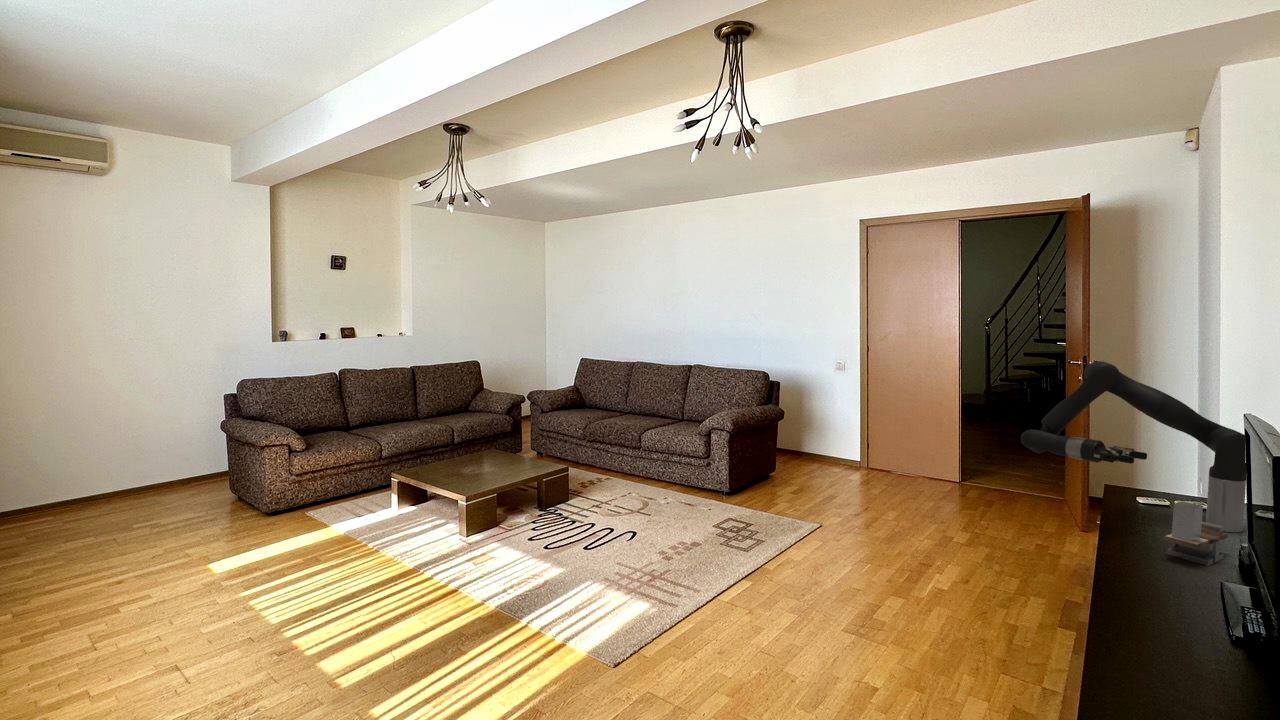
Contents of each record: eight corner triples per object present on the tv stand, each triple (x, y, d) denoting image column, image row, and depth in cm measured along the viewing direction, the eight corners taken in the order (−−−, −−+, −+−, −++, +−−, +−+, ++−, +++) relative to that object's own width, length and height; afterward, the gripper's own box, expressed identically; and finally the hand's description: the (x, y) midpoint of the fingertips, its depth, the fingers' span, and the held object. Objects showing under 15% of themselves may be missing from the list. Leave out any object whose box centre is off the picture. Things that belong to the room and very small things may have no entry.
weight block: (1179, 533, 192) (1182, 501, 191) (1200, 539, 188) (1202, 505, 187) (1171, 536, 190) (1174, 503, 189) (1192, 542, 185) (1195, 508, 184)
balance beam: (1194, 529, 200) (1195, 519, 200) (1227, 537, 193) (1228, 527, 193) (1163, 540, 190) (1164, 529, 190) (1197, 549, 183) (1197, 538, 183)
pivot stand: (1181, 547, 199) (1182, 527, 198) (1224, 558, 190) (1225, 537, 189) (1165, 553, 194) (1167, 533, 194) (1208, 566, 185) (1210, 544, 185)
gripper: (1073, 441, 216) (1129, 450, 202) (1095, 435, 223) (1151, 443, 209) (1073, 463, 217) (1128, 473, 203) (1095, 457, 224) (1150, 466, 210)
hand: (1140, 458), depth 206 cm, fingers open, 8 cm apart
